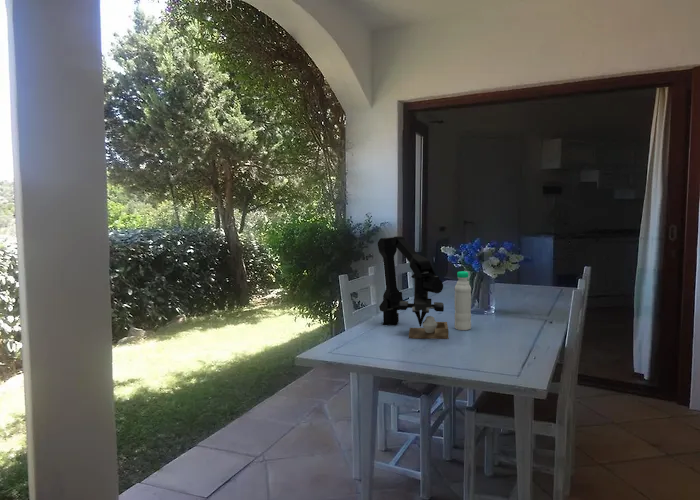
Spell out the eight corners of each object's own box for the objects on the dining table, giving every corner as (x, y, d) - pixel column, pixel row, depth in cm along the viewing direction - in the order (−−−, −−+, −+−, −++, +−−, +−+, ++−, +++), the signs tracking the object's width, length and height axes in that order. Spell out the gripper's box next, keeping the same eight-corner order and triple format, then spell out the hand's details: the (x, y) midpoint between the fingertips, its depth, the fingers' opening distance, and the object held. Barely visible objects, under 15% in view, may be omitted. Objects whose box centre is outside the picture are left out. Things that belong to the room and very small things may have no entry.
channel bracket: (408, 338, 200) (408, 329, 200) (409, 329, 214) (409, 321, 213) (448, 339, 198) (448, 329, 197) (446, 330, 211) (446, 321, 211)
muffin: (432, 334, 201) (433, 317, 201) (419, 332, 205) (420, 315, 204) (439, 332, 206) (440, 315, 205) (426, 329, 210) (427, 313, 209)
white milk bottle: (471, 327, 216) (471, 270, 213) (470, 331, 209) (470, 273, 207) (455, 326, 218) (455, 270, 215) (453, 330, 211) (453, 272, 209)
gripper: (397, 292, 198) (396, 330, 199) (444, 293, 195) (443, 332, 196) (399, 287, 209) (398, 323, 210) (443, 289, 206) (442, 325, 207)
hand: (420, 326), depth 206 cm, fingers closed
